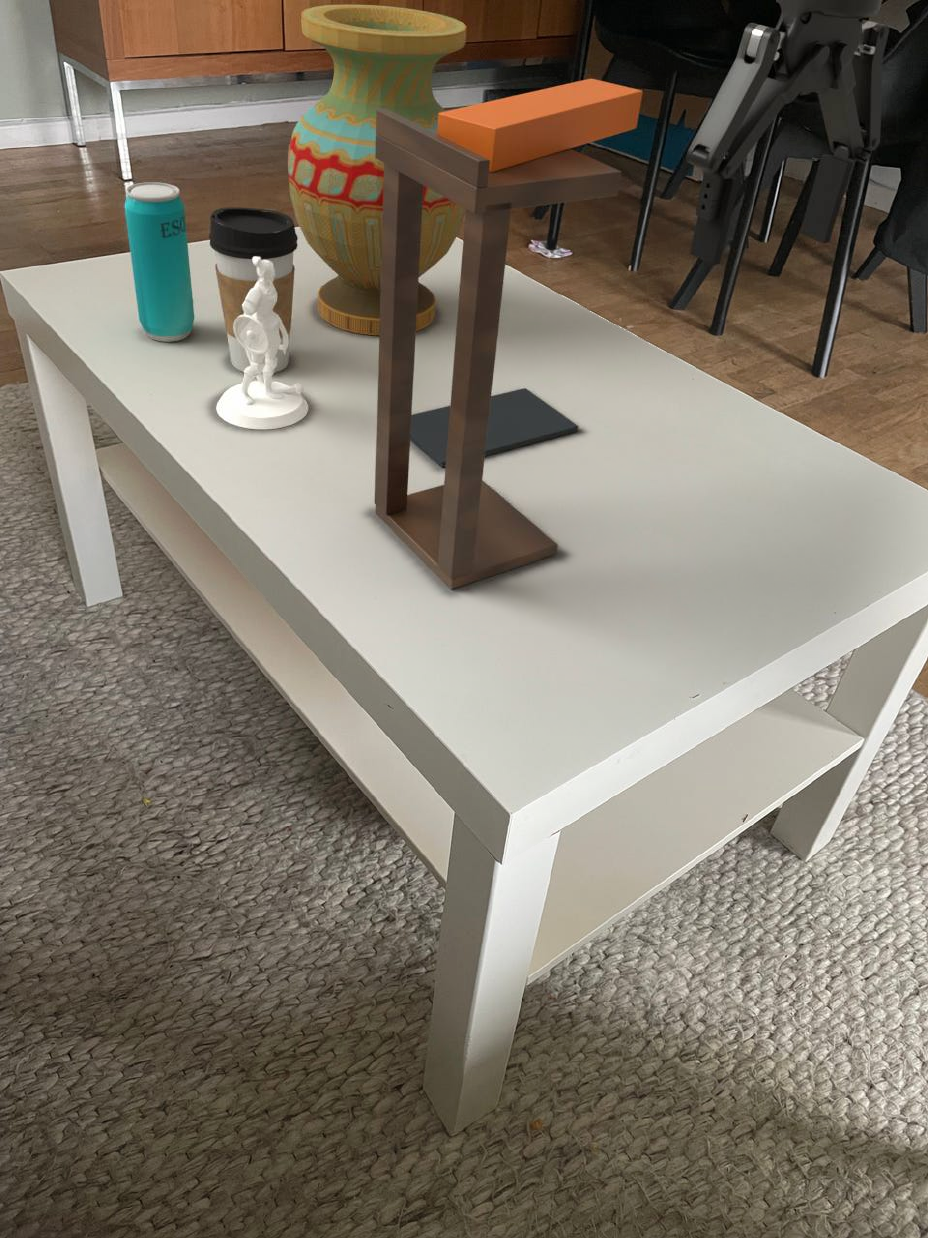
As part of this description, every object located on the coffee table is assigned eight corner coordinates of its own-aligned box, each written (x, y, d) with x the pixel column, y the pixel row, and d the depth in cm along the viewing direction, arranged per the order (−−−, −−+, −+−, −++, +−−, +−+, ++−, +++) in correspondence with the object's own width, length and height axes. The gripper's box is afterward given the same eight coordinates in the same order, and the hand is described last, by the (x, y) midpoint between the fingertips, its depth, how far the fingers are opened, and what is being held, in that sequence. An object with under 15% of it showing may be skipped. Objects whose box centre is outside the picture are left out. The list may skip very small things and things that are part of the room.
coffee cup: (214, 347, 108) (202, 202, 98) (293, 342, 110) (288, 201, 100) (224, 382, 101) (212, 232, 92) (307, 377, 104) (304, 229, 94)
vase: (495, 319, 119) (524, 31, 100) (371, 363, 108) (378, 45, 89) (381, 268, 129) (388, -4, 110) (256, 303, 117) (241, 6, 98)
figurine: (266, 438, 93) (259, 280, 84) (196, 408, 97) (181, 253, 87) (326, 405, 99) (325, 253, 90) (258, 378, 103) (251, 229, 93)
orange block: (585, 115, 75) (590, 77, 73) (636, 128, 73) (643, 90, 71) (435, 155, 63) (437, 112, 62) (491, 172, 61) (495, 128, 60)
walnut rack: (476, 484, 90) (515, 99, 70) (556, 554, 83) (626, 146, 63) (366, 515, 85) (375, 108, 65) (442, 593, 78) (479, 160, 58)
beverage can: (207, 332, 110) (194, 189, 101) (169, 349, 106) (153, 202, 97) (167, 317, 112) (151, 177, 103) (129, 334, 108) (109, 189, 99)
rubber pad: (524, 392, 105) (525, 387, 105) (577, 431, 100) (578, 425, 99) (392, 424, 98) (392, 418, 97) (441, 467, 92) (442, 462, 92)
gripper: (904, -59, 79) (822, 216, 93) (678, -66, 67) (621, 252, 81) (988, -45, 75) (889, 243, 88) (761, -49, 63) (687, 285, 76)
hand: (761, 248), depth 84 cm, fingers open, 13 cm apart
